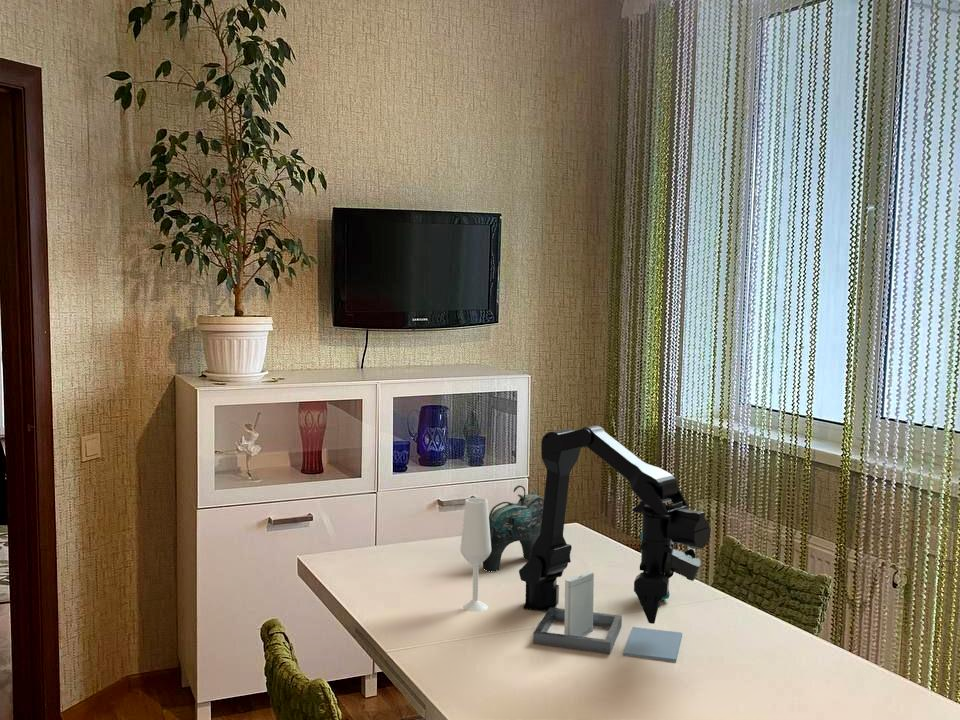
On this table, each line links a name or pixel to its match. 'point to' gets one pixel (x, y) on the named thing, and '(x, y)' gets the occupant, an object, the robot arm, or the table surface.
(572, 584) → the hard drive
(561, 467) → the robot arm
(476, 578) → the champagne flute
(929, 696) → the table surface
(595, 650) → the gray square frame
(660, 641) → the mat
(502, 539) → the green bronze animal figure
